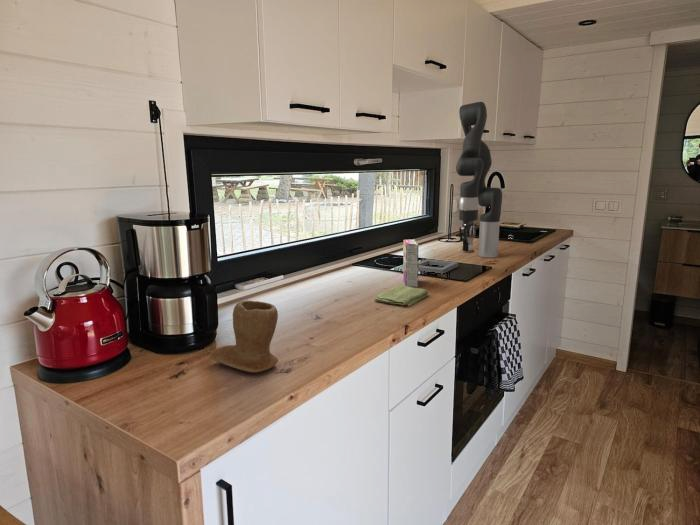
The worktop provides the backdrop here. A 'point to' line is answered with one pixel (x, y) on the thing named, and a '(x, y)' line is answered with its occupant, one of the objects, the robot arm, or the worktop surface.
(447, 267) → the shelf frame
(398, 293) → the washcloth
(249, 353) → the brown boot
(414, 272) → the candy bar box
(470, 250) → the cord spool
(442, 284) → the worktop surface
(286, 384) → the worktop surface
